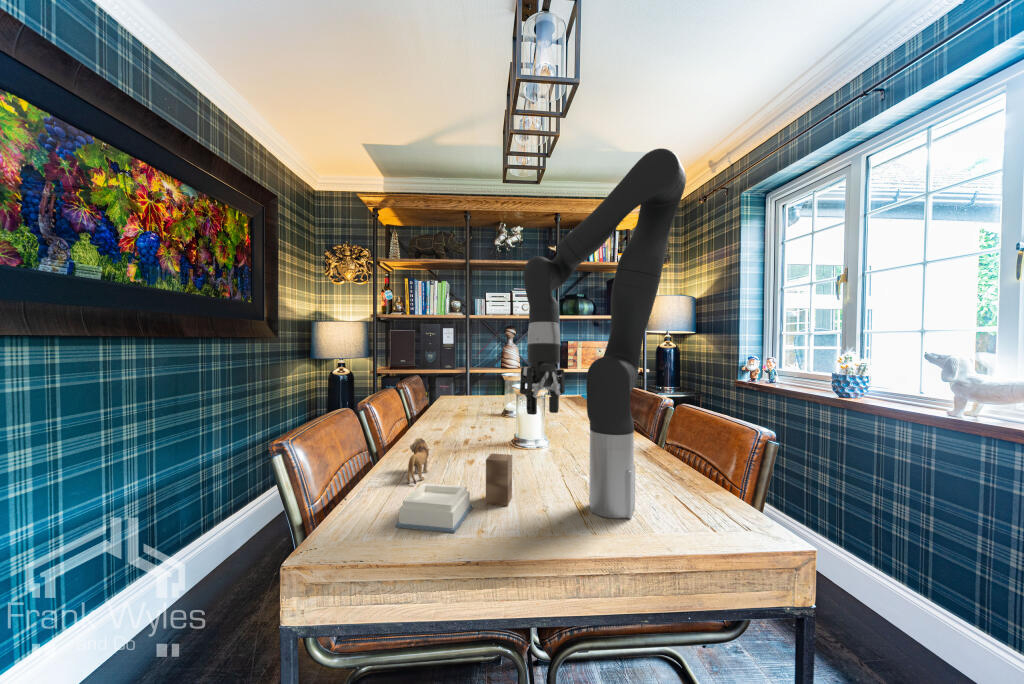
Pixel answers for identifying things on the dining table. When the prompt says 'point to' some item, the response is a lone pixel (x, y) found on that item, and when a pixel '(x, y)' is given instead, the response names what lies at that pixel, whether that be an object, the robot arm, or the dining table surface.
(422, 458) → the lion figurine
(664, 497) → the dining table surface
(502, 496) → the walnut column
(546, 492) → the dining table surface
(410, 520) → the pedestal base
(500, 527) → the dining table surface
